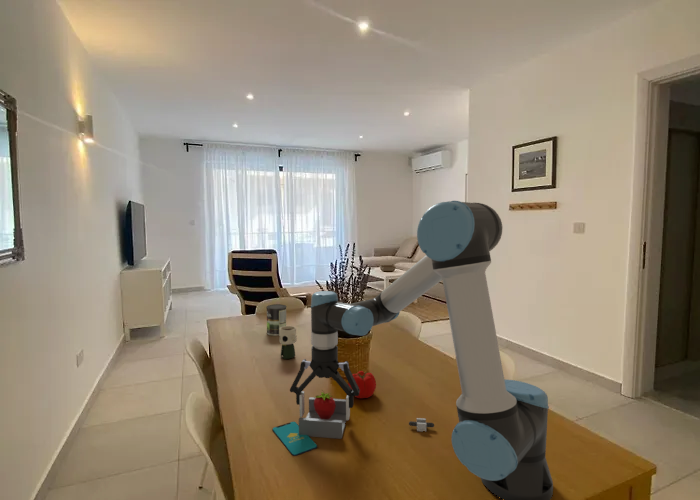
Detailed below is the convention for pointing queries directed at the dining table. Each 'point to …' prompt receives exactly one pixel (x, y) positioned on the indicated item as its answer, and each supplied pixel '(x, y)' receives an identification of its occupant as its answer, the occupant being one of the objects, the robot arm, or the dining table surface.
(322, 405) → the strawberry
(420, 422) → the block with rod
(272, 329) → the coffee can
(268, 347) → the dining table surface
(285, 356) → the character mug
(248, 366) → the dining table surface
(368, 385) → the tomato
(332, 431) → the end holder
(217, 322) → the dining table surface
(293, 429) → the smartphone
